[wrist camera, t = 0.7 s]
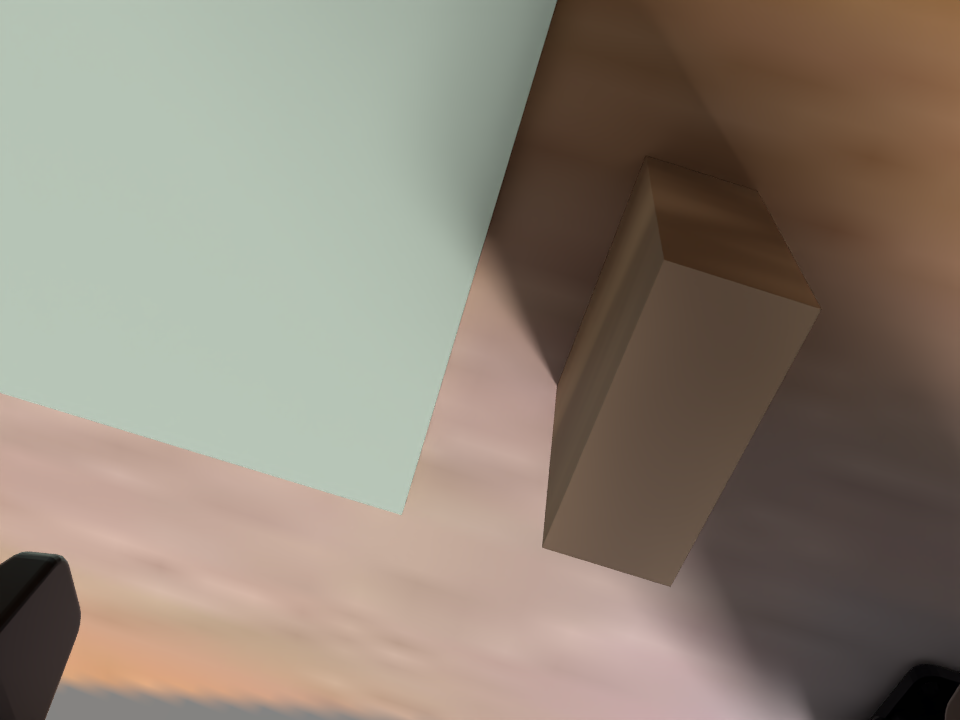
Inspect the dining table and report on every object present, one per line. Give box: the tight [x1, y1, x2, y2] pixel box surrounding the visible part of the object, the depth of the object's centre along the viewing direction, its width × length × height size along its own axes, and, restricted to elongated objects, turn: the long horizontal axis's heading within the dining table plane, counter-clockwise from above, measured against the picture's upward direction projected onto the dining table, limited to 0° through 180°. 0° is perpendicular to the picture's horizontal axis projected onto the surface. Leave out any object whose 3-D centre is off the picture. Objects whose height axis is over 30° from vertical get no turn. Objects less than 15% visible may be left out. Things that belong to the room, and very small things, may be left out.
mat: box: [0, 0, 557, 515], centre depth 19 cm, size 14×16×1 cm
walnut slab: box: [542, 156, 821, 587], centre depth 17 cm, size 2×6×6 cm, turn 164°
